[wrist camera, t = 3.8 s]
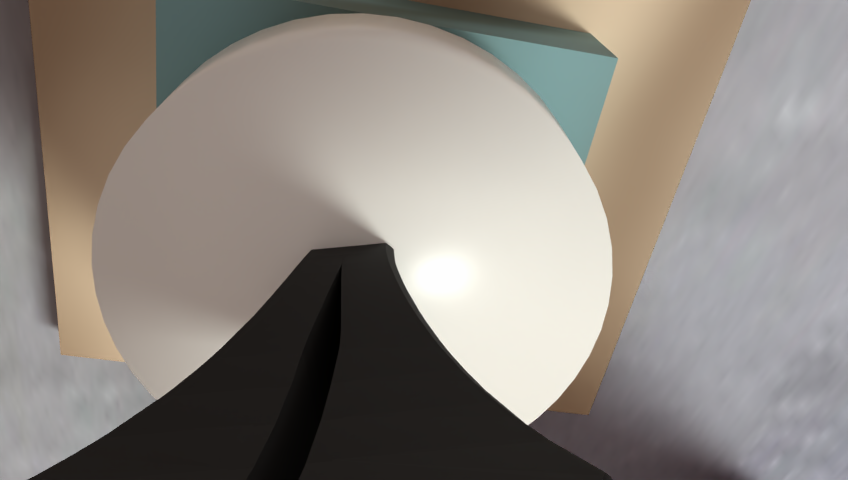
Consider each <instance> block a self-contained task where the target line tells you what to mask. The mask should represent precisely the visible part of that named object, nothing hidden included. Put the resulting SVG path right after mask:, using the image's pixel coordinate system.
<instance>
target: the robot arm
mask: <svg viewBox="0 0 848 480" xmlns="http://www.w3.org/2000/svg"><path fill="white" fill-rule="evenodd" d="M28 480H612V479H611V477H610V476H609V475H608V474H606V473H605V472H603V471H601V470H600V469H598V468H596V467H595V466H593V465H591V464H589V463H588V462H586V461H584V460H582V459H581V458H579V457H577V456H575V455H574V454H572V453H570V452H569V451H567V450H565V449H563V448H562V447H560V446H558V445H556V444H555V443H553V442H551V441H550V440H548V439H547V438H545V437H544V436H542V435H541V434H539V433H538V432H537V431H535V430H534V429H532V428H531V427H530V426H528V425H527V424H525V423H524V422H523V421H522V420H521V419H519V418H518V417H517V416H516V415H515V414H513V413H512V412H511V411H510V410H509V409H507V408H506V407H505V406H504V405H503V404H501V403H500V402H499V401H498V400H497V399H495V398H494V397H493V396H492V395H491V394H490V393H488V392H487V391H486V390H485V389H484V388H483V387H482V386H481V385H480V384H479V383H478V382H477V381H476V380H475V379H474V378H473V377H472V376H471V375H470V374H469V373H468V372H467V371H466V370H465V369H464V368H463V367H462V366H461V365H460V364H459V362H458V361H457V360H456V359H455V358H454V357H453V356H452V355H451V353H450V352H449V351H448V350H447V349H446V347H445V346H444V345H443V344H442V342H441V341H440V340H439V339H438V337H437V336H436V334H435V333H434V332H433V330H432V329H431V327H430V326H429V325H428V323H427V322H426V320H425V319H424V317H423V316H422V314H421V313H420V311H419V310H418V308H417V306H416V304H415V303H414V301H413V299H412V298H411V296H410V294H409V292H408V291H407V289H406V287H405V285H404V283H403V281H402V278H401V276H400V274H399V271H398V269H397V266H396V263H395V256H394V249H393V248H392V247H391V246H389V245H388V244H387V243H379V244H368V245H357V246H346V247H335V248H324V249H312V250H310V252H309V253H308V254H307V255H306V256H305V257H304V258H303V259H302V261H301V262H300V263H299V264H298V265H297V266H296V267H295V269H294V270H293V271H292V272H291V273H290V275H289V276H288V277H287V278H286V279H285V281H284V282H283V283H282V284H281V285H280V286H279V288H278V289H277V290H276V291H275V292H274V293H273V295H272V296H271V297H270V298H269V299H268V300H267V301H266V302H265V304H264V305H263V306H262V307H261V308H260V309H259V310H258V311H257V312H256V314H255V315H254V316H253V317H252V318H251V319H250V320H249V321H248V322H247V323H246V324H245V325H244V326H243V327H242V328H241V329H240V330H239V331H238V332H237V333H236V334H235V335H234V336H233V337H232V338H231V339H230V340H229V341H228V342H227V343H226V344H225V345H224V346H223V347H222V348H221V349H219V350H218V351H217V352H216V353H215V354H214V355H213V356H212V357H211V358H209V359H208V360H207V361H206V362H205V363H204V364H202V365H201V366H200V367H199V368H198V369H197V370H195V371H194V372H193V373H192V374H190V375H189V376H188V377H187V378H185V379H184V380H183V381H182V382H180V383H179V384H178V385H177V386H175V387H174V388H173V389H172V390H170V391H169V392H168V393H166V394H165V395H164V396H162V397H161V398H159V399H158V400H157V401H155V402H154V403H152V404H151V405H149V406H148V407H146V408H145V409H143V410H142V411H140V412H139V413H138V414H136V415H135V416H133V417H132V418H130V419H129V420H127V421H126V422H124V423H123V424H121V425H120V426H119V427H117V428H116V429H114V430H113V431H111V432H110V433H108V434H107V435H105V436H103V437H102V438H100V439H98V440H97V441H95V442H93V443H92V444H90V445H88V446H87V447H85V448H83V449H82V450H80V451H78V452H77V453H75V454H73V455H72V456H70V457H68V458H66V459H65V460H63V461H61V462H59V463H57V464H56V465H54V466H52V467H50V468H48V469H47V470H45V471H43V472H41V473H40V474H38V475H36V476H34V477H32V478H30V479H28Z"/></svg>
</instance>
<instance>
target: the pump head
mask: <svg viewBox="0 0 848 480" xmlns="http://www.w3.org/2000/svg"><path fill="white" fill-rule="evenodd" d="M379 243H387V244H388V245H389V246H391V247H392V248H393V249H394V256H395V263H396V266H397V269H398V271H399V274H400V276H401V278H402V281H403V283H404V285H405V287H406V289H407V291H408V292H409V294H410V296H411V298H412V299H413V301H414V303H415V304H416V306H417V308H418V310H419V311H420V313H421V314H422V316H423V317H424V319H425V320H426V322H427V323H428V325H429V326H430V327H431V329H432V330H433V332H434V333H435V334H436V336H437V337H438V339H439V340H440V341H441V342H442V344H443V345H444V346H445V347H446V349H447V350H448V351H449V352H450V353H451V355H452V356H453V357H454V358H455V359H456V360H457V361H458V362H459V364H460V365H461V366H462V367H463V368H464V369H465V370H466V371H467V372H468V373H469V374H470V375H471V376H472V377H473V378H474V379H475V380H476V381H477V382H478V383H479V384H480V385H481V386H482V387H483V388H484V389H485V390H486V391H487V392H488V393H490V394H491V395H492V396H493V397H494V398H495V399H497V400H498V401H499V402H500V403H501V404H503V405H504V406H505V407H506V408H507V409H509V410H510V411H511V412H512V413H513V414H515V415H516V416H517V417H518V418H519V419H521V420H522V421H523V422H524V423H525V424H527V425H529V424H530V423H532V422H533V421H534V420H536V419H537V418H538V417H539V416H540V415H541V414H542V413H544V412H545V411H546V410H547V409H548V408H549V407H550V406H551V405H552V404H553V403H554V402H555V401H556V400H557V399H558V398H559V397H560V396H561V395H562V393H563V392H564V391H565V390H566V389H567V387H568V386H569V385H570V384H571V383H572V381H573V380H574V379H575V378H576V376H577V374H578V373H579V371H580V370H581V368H582V367H583V365H584V363H585V362H586V360H587V359H588V357H589V356H590V353H591V351H592V349H593V347H594V345H595V342H596V340H597V338H598V336H599V334H600V331H601V329H602V325H603V322H604V318H605V315H606V311H607V308H608V305H609V298H610V291H611V283H612V245H611V239H610V234H609V228H608V222H607V217H606V214H605V211H604V209H603V206H602V203H601V200H600V197H599V194H598V191H597V188H596V186H595V185H594V183H593V181H592V179H591V177H590V175H589V173H588V171H587V169H586V167H585V166H584V164H583V162H582V160H581V158H580V157H579V155H578V153H577V152H576V150H575V149H574V147H573V145H572V144H571V142H570V140H569V139H568V137H567V136H566V134H565V132H564V131H563V129H562V127H561V126H560V124H559V123H558V121H557V120H556V118H555V117H554V115H553V114H552V113H551V111H550V110H549V109H548V107H547V106H546V104H545V103H544V102H543V100H542V99H541V98H540V96H539V95H538V94H537V93H536V92H535V91H534V90H533V89H532V88H531V87H530V86H529V85H528V84H527V83H526V82H525V81H524V80H523V79H522V78H521V77H520V76H519V75H518V74H517V73H516V72H514V71H513V70H512V69H510V68H509V67H508V66H507V65H505V64H504V63H503V62H501V61H500V60H499V59H497V58H496V57H495V56H493V55H492V54H490V53H489V52H487V51H485V50H483V49H482V48H480V47H478V46H476V45H475V44H473V43H471V42H469V41H467V40H466V39H464V38H462V37H459V36H457V35H454V34H452V33H449V32H447V31H444V30H442V29H439V28H437V27H434V26H432V25H428V24H424V23H420V22H416V21H412V20H408V19H404V18H400V17H392V16H383V15H374V14H365V13H354V14H326V15H320V16H314V17H308V18H302V19H295V20H292V21H288V22H285V23H282V24H279V25H275V26H272V27H269V28H266V29H262V30H260V31H258V32H256V33H254V34H252V35H249V36H247V37H245V38H243V39H241V40H239V41H237V42H235V43H233V44H231V45H229V46H228V47H226V48H225V49H223V50H222V51H220V52H219V53H217V54H216V55H214V56H213V57H211V58H210V59H208V60H207V61H205V62H204V63H203V64H202V65H201V66H200V67H198V68H197V69H196V70H195V71H194V72H193V73H192V74H191V75H190V76H189V77H187V78H186V79H185V80H184V81H183V82H182V83H181V84H180V85H179V86H178V87H177V88H176V89H175V90H174V91H173V92H172V93H171V94H170V95H169V96H168V97H167V98H166V99H165V100H164V101H163V103H162V104H161V105H160V106H159V107H158V108H157V109H156V110H155V111H154V112H153V113H152V114H151V115H150V116H149V117H148V118H147V119H146V120H145V121H144V123H143V124H142V125H141V126H140V128H139V129H138V130H137V131H136V133H135V134H134V135H133V136H132V138H131V139H130V140H129V141H128V143H127V144H126V145H125V146H124V148H123V150H122V152H121V154H120V155H119V157H118V159H117V161H116V162H115V164H114V166H113V168H112V169H111V171H110V173H109V175H108V178H107V180H106V183H105V186H104V189H103V191H102V194H101V197H100V200H99V202H98V206H97V211H96V217H95V222H94V227H93V233H92V271H93V278H94V285H95V293H96V296H97V300H98V303H99V306H100V310H101V313H102V316H103V320H104V323H105V325H106V327H107V329H108V331H109V333H110V335H111V338H112V340H113V342H114V344H115V346H116V348H117V350H118V351H119V353H120V354H121V356H122V358H123V359H124V361H125V362H126V364H127V365H128V367H129V368H130V370H131V372H132V373H133V374H134V375H135V376H136V378H137V379H138V380H139V381H140V382H141V384H142V385H143V386H144V387H145V388H146V389H147V391H148V392H149V393H150V394H151V395H152V396H153V397H154V398H155V399H156V400H158V399H159V398H161V397H162V396H164V395H165V394H166V393H168V392H169V391H170V390H172V389H173V388H174V387H175V386H177V385H178V384H179V383H180V382H182V381H183V380H184V379H185V378H187V377H188V376H189V375H190V374H192V373H193V372H194V371H195V370H197V369H198V368H199V367H200V366H201V365H202V364H204V363H205V362H206V361H207V360H208V359H209V358H211V357H212V356H213V355H214V354H215V353H216V352H217V351H218V350H219V349H221V348H222V347H223V346H224V345H225V344H226V343H227V342H228V341H229V340H230V339H231V338H232V337H233V336H234V335H235V334H236V333H237V332H238V331H239V330H240V329H241V328H242V327H243V326H244V325H245V324H246V323H247V322H248V321H249V320H250V319H251V318H252V317H253V316H254V315H255V314H256V312H257V311H258V310H259V309H260V308H261V307H262V306H263V305H264V304H265V302H266V301H267V300H268V299H269V298H270V297H271V296H272V295H273V293H274V292H275V291H276V290H277V289H278V288H279V286H280V285H281V284H282V283H283V282H284V281H285V279H286V278H287V277H288V276H289V275H290V273H291V272H292V271H293V270H294V269H295V267H296V266H297V265H298V264H299V263H300V262H301V261H302V259H303V258H304V257H305V256H306V255H307V254H308V253H309V252H310V250H312V249H324V248H335V247H346V246H357V245H368V244H379Z"/></svg>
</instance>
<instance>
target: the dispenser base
mask: <svg viewBox="0 0 848 480" xmlns="http://www.w3.org/2000/svg"><path fill="white" fill-rule="evenodd" d="M750 1H751V0H28V2H29V13H30V24H31V35H32V46H33V57H34V67H35V78H36V89H37V100H38V111H39V122H40V133H41V143H42V154H43V165H44V176H45V187H46V198H47V209H48V219H49V230H50V241H51V252H52V263H53V274H54V285H55V295H56V306H57V317H58V328H59V339H60V350H61V355H69V356H78V357H86V358H95V359H104V360H113V361H121V362H125V361H124V359H123V358H122V356H121V354H120V353H119V351H118V350H117V348H116V346H115V344H114V342H113V340H112V338H111V335H110V333H109V331H108V329H107V327H106V325H105V323H104V320H103V316H102V313H101V310H100V306H99V303H98V300H97V296H96V293H95V285H94V278H93V271H92V233H93V227H94V222H95V217H96V211H97V206H98V202H99V200H100V197H101V194H102V191H103V189H104V186H105V183H106V180H107V178H108V175H109V173H110V171H111V169H112V168H113V166H114V164H115V162H116V161H117V159H118V157H119V155H120V154H121V152H122V150H123V148H124V146H125V145H126V144H127V143H128V141H129V140H130V139H131V138H132V136H133V135H134V134H135V133H136V131H137V130H138V129H139V128H140V126H141V125H142V124H143V123H144V121H145V120H146V119H147V118H148V117H149V116H150V115H151V114H152V113H153V112H154V111H155V110H156V109H157V108H158V107H159V106H160V105H161V104H162V103H163V101H164V100H165V99H166V98H167V97H168V96H169V95H170V94H171V93H172V92H173V91H174V90H175V89H176V88H177V87H178V86H179V85H180V84H181V83H182V82H183V81H184V80H185V79H186V78H187V77H189V76H190V75H191V74H192V73H193V72H194V71H195V70H196V69H197V68H198V67H200V66H201V65H202V64H203V63H204V62H205V61H207V60H208V59H210V58H211V57H213V56H214V55H216V54H217V53H219V52H220V51H222V50H223V49H225V48H226V47H228V46H229V45H231V44H233V43H235V42H237V41H239V40H241V39H243V38H245V37H247V36H249V35H252V34H254V33H256V32H258V31H260V30H262V29H266V28H269V27H272V26H275V25H279V24H282V23H285V22H288V21H292V20H295V19H302V18H308V17H314V16H320V15H326V14H354V13H365V14H374V15H383V16H392V17H400V18H404V19H408V20H412V21H416V22H420V23H424V24H428V25H432V26H434V27H437V28H439V29H442V30H444V31H447V32H449V33H452V34H454V35H457V36H459V37H462V38H464V39H466V40H467V41H469V42H471V43H473V44H475V45H476V46H478V47H480V48H482V49H483V50H485V51H487V52H489V53H490V54H492V55H493V56H495V57H496V58H497V59H499V60H500V61H501V62H503V63H504V64H505V65H507V66H508V67H509V68H510V69H512V70H513V71H514V72H516V73H517V74H518V75H519V76H520V77H521V78H522V79H523V80H524V81H525V82H526V83H527V84H528V85H529V86H530V87H531V88H532V89H533V90H534V91H535V92H536V93H537V94H538V95H539V96H540V98H541V99H542V100H543V102H544V103H545V104H546V106H547V107H548V109H549V110H550V111H551V113H552V114H553V115H554V117H555V118H556V120H557V121H558V123H559V124H560V126H561V127H562V129H563V131H564V132H565V134H566V136H567V137H568V139H569V140H570V142H571V144H572V145H573V147H574V149H575V150H576V152H577V153H578V155H579V157H580V158H581V160H582V162H583V164H584V166H585V167H586V169H587V171H588V173H589V175H590V177H591V179H592V181H593V183H594V185H595V186H596V188H597V191H598V194H599V197H600V200H601V203H602V206H603V209H604V211H605V214H606V217H607V222H608V228H609V234H610V239H611V245H612V283H611V291H610V298H609V305H608V308H607V311H606V315H605V318H604V322H603V325H602V329H601V331H600V334H599V336H598V338H597V340H596V342H595V345H594V347H593V349H592V351H591V353H590V356H589V357H588V359H587V360H586V362H585V363H584V365H583V367H582V368H581V370H580V371H579V373H578V374H577V376H576V378H575V379H574V380H573V381H572V383H571V384H570V385H569V386H568V387H567V389H566V390H565V391H564V392H563V393H562V395H561V396H560V397H559V398H558V399H557V400H556V401H555V402H554V403H553V404H552V405H551V406H550V407H549V408H548V409H547V410H548V411H557V412H566V413H575V414H583V415H589V412H590V410H591V407H592V405H593V402H594V400H595V397H596V394H597V392H598V389H599V387H600V384H601V382H602V379H603V377H604V374H605V372H606V369H607V366H608V364H609V361H610V359H611V356H612V354H613V351H614V349H615V346H616V343H617V341H618V338H619V336H620V333H621V331H622V328H623V326H624V323H625V320H626V318H627V315H628V313H629V310H630V308H631V305H632V303H633V300H634V297H635V295H636V292H637V290H638V287H639V285H640V282H641V280H642V277H643V274H644V272H645V269H646V267H647V264H648V262H649V259H650V257H651V254H652V251H653V249H654V246H655V244H656V241H657V239H658V236H659V234H660V231H661V228H662V226H663V223H664V221H665V218H666V216H667V213H668V211H669V208H670V205H671V203H672V200H673V198H674V195H675V193H676V190H677V188H678V185H679V183H680V180H681V177H682V175H683V172H684V170H685V167H686V165H687V162H688V160H689V157H690V154H691V152H692V149H693V147H694V144H695V142H696V139H697V137H698V134H699V131H700V129H701V126H702V124H703V121H704V119H705V116H706V114H707V111H708V108H709V106H710V103H711V101H712V98H713V96H714V93H715V91H716V88H717V85H718V83H719V80H720V78H721V75H722V73H723V70H724V68H725V65H726V62H727V60H728V57H729V55H730V52H731V50H732V47H733V45H734V42H735V39H736V37H737V34H738V32H739V29H740V27H741V24H742V22H743V19H744V17H745V14H746V11H747V9H748V6H749V4H750Z"/></svg>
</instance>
